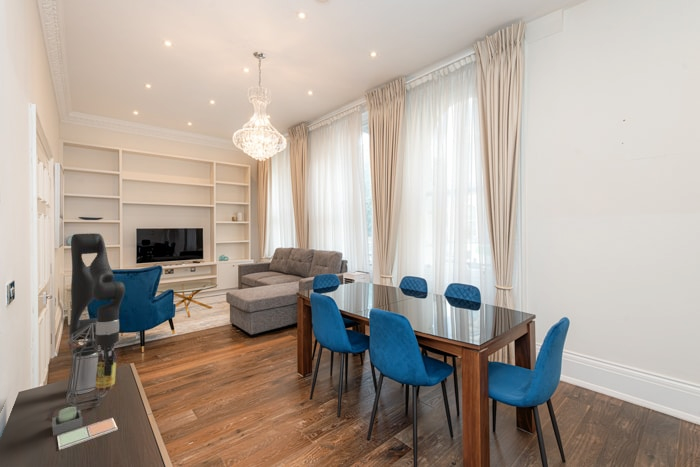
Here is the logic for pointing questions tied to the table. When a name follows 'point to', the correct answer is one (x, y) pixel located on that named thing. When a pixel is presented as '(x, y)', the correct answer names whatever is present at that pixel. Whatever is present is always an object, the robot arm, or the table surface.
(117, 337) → the robot arm
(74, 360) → the geometric lantern
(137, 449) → the table surface
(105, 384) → the sauce bottle
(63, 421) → the button
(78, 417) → the button housing
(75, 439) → the colouring card
